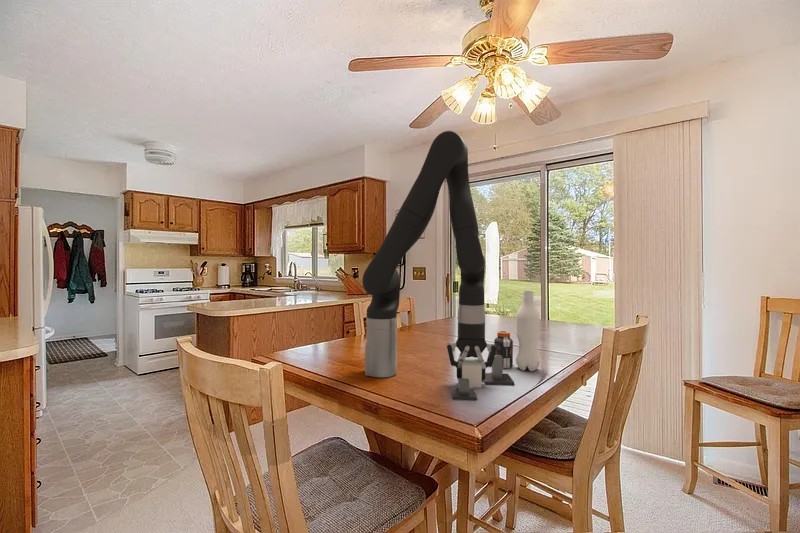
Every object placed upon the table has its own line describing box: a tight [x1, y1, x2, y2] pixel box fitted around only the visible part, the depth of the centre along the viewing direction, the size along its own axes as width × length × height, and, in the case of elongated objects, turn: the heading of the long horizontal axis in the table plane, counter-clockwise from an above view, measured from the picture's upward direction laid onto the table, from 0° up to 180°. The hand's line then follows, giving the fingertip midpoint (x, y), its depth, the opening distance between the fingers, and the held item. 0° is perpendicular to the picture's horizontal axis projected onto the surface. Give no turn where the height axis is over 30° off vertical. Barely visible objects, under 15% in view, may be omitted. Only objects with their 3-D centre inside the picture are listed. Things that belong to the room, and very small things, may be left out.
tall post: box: [483, 355, 515, 386], centre depth 108 cm, size 8×8×7 cm
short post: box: [450, 378, 478, 401], centre depth 96 cm, size 6×6×4 cm
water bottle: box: [515, 290, 541, 372], centre depth 120 cm, size 7×7×25 cm
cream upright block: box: [461, 357, 483, 388], centre depth 105 cm, size 5×5×7 cm
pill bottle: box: [493, 330, 514, 369], centre depth 123 cm, size 6×6×11 cm
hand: (470, 380), depth 105 cm, fingers closed on cream upright block, 5 cm apart
